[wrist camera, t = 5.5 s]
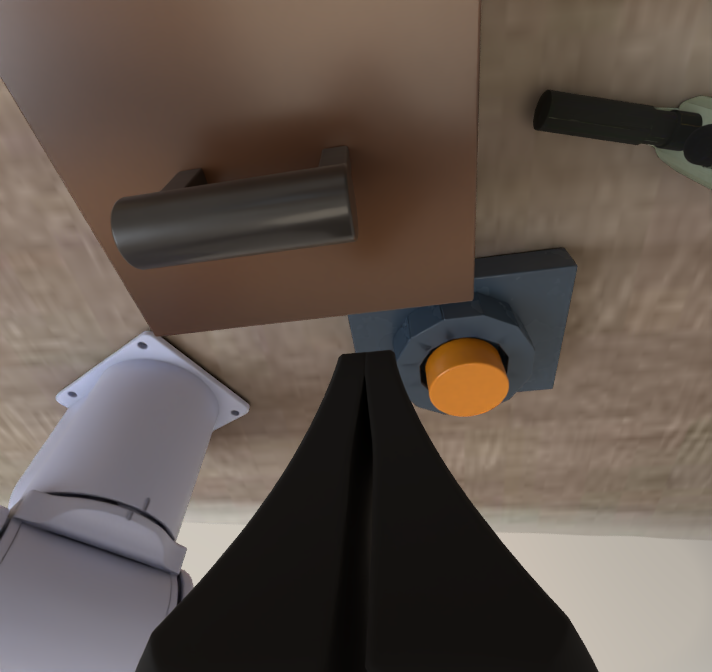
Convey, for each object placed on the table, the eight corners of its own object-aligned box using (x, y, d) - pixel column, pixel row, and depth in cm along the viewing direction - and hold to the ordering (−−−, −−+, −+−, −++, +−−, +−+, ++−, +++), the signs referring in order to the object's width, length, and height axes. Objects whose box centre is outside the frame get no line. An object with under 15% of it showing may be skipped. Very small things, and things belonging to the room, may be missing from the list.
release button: (426, 393, 22) (430, 420, 21) (423, 341, 20) (427, 367, 18) (498, 386, 22) (506, 414, 20) (502, 333, 19) (512, 359, 18)
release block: (366, 384, 26) (366, 431, 24) (344, 274, 21) (341, 317, 19) (543, 367, 25) (564, 414, 22) (564, 246, 20) (595, 288, 17)
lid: (-188, -287, 7) (-669, -515, 4) (486, -500, 6) (641, -1114, 3) (161, 325, 16) (106, 420, 13) (470, 289, 15) (502, 384, 11)
